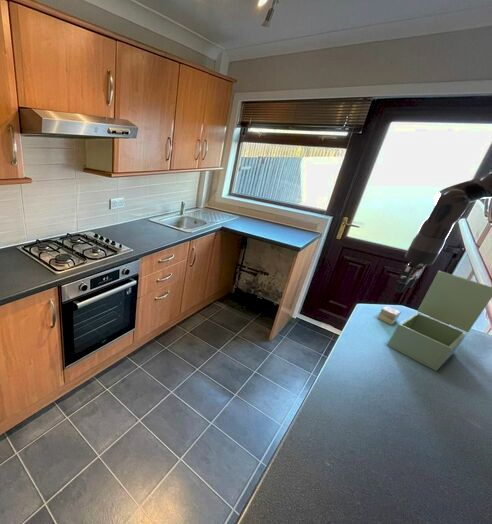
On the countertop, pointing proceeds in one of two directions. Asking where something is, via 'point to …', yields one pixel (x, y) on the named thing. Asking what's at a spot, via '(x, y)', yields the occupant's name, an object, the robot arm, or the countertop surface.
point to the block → (389, 315)
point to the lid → (455, 300)
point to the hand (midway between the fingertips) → (402, 289)
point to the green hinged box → (426, 340)
